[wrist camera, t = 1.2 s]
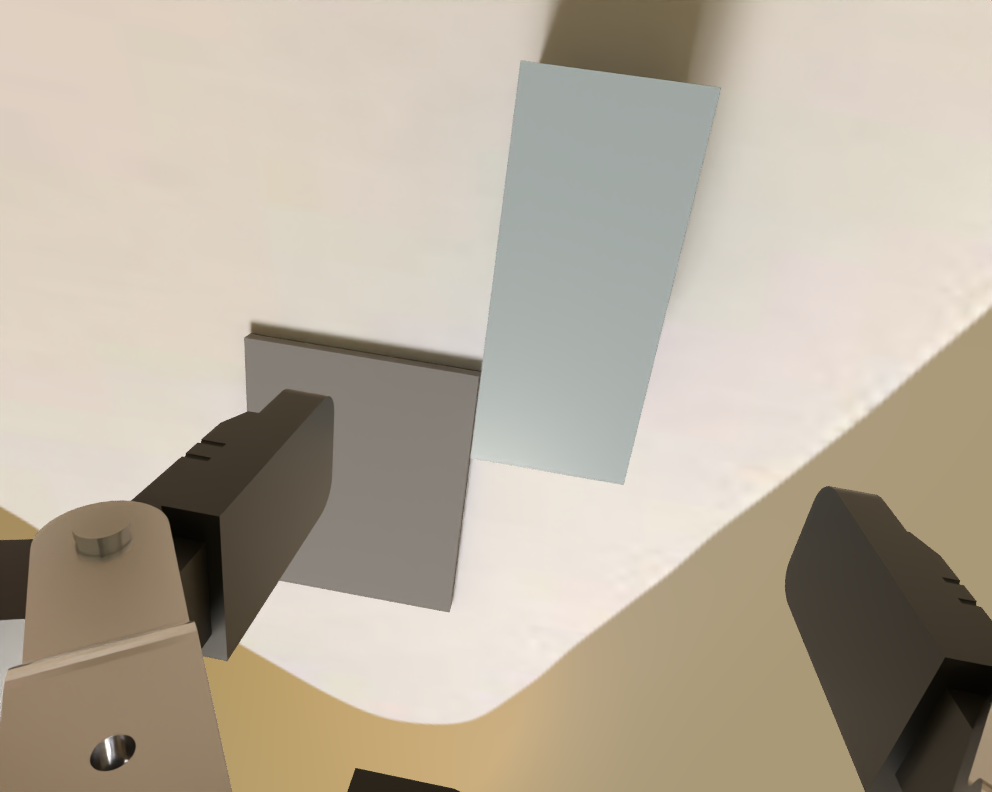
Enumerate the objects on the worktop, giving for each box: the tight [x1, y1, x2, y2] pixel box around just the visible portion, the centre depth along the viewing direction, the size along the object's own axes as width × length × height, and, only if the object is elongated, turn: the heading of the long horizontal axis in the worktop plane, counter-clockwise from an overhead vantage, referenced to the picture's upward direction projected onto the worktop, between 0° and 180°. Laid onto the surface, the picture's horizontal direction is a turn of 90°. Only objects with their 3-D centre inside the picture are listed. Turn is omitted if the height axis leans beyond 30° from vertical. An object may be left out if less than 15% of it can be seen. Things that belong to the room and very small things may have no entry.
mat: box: [244, 334, 481, 612], centre depth 33 cm, size 14×11×1 cm
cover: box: [471, 61, 721, 485], centre depth 24 cm, size 13×6×7 cm, turn 173°
